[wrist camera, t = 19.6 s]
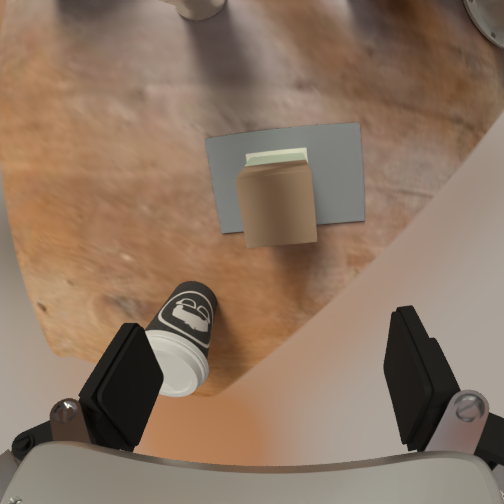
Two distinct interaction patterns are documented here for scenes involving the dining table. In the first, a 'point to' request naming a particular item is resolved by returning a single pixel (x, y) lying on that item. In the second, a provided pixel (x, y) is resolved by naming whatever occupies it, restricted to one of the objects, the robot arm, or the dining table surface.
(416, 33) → the dining table surface
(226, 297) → the dining table surface
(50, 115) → the dining table surface
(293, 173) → the walnut block
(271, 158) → the sage block
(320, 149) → the felt mat
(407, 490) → the robot arm
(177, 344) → the coffee cup
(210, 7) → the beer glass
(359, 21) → the dining table surface
